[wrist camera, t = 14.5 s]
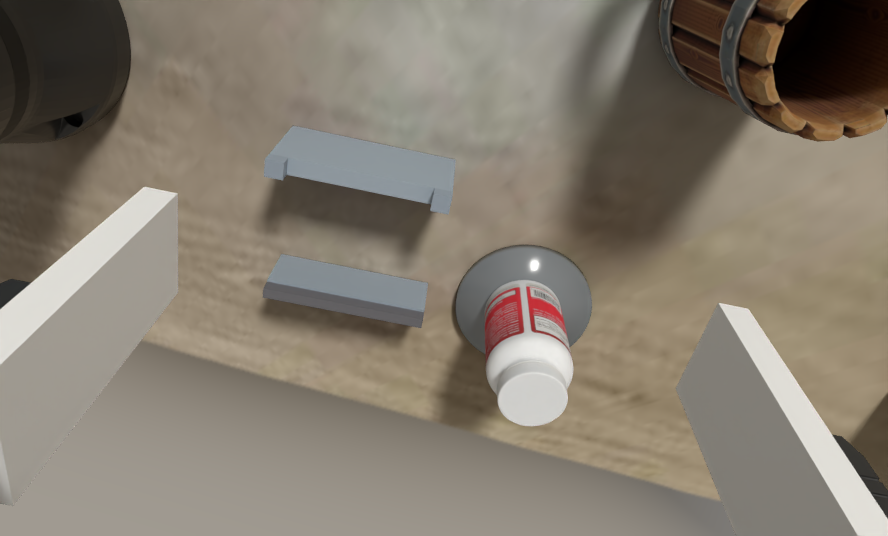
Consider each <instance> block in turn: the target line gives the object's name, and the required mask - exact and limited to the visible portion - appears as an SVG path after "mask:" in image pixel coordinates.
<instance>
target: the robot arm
mask: <svg viewBox="0 0 888 536" xmlns="http://www.w3.org/2000/svg"><path fill="white" fill-rule="evenodd" d="M129 67H130V40H129V34H128V29H127V24H126V20H125V17H124V14H123V11H122V8H121V5H120V3H119V1H118V0H0V143H38V142H49V141H55V140H59V139H63V138H66V137H69V136H71V135H74V134H76V133H78V132H80V131H82V130H84V129H85V128H87V127H89V126H91V125H92V124H94V123H96V122H97V121H99V120H100V119H101V118H103V117H104V116H105V115H106V114H107V113H108V112H109V111H110V110H111V109H112V108H113V107H114V105H115V104H116V103H117V101H118V100H119V98H120V96H121V94H122V92H123V90H124V87H125V84H126V81H127V77H128V73H129ZM177 293H178V193H173V192H168V191H163V190H158V189H153V188H148V187H144V188H142V189H141V190H140V191H139V192H138V193H137V194H135V195H134V196H133V197H132V198H131V199H129V200H128V201H127V202H126V203H125V204H124V205H122V206H121V207H120V208H119V209H118V210H117V211H115V212H114V213H113V214H112V215H111V216H109V217H108V218H107V219H106V220H105V221H104V222H102V223H101V224H100V225H99V226H98V227H97V228H95V229H94V230H93V231H92V232H91V233H89V234H88V235H87V236H86V237H85V238H84V239H82V240H81V241H80V242H79V243H78V244H77V245H75V246H74V247H73V248H72V249H71V250H69V251H68V252H67V253H66V254H65V255H64V256H62V257H61V258H60V259H59V260H58V261H57V262H55V263H54V264H53V265H52V266H51V267H49V268H48V269H47V270H46V271H45V272H44V273H42V274H41V275H40V276H39V277H38V278H36V279H35V280H34V281H33V282H32V283H29V282H24V281H19V280H14V279H10V280H8V281H5V282H3V283H0V504H6V505H12V506H13V505H14V504H15V503H16V502H17V500H18V499H19V498H20V496H21V495H22V494H23V493H24V491H25V490H26V489H27V487H28V486H29V485H30V484H31V482H32V481H33V479H34V478H35V477H36V476H37V474H38V473H39V472H40V471H41V469H42V468H43V467H44V465H45V464H46V463H47V461H48V460H49V459H50V458H51V456H52V455H53V454H54V452H55V451H56V450H57V449H58V447H59V446H60V445H61V443H62V442H63V441H64V439H65V438H66V437H67V435H68V434H69V433H70V431H71V430H72V429H73V428H74V426H75V425H76V424H77V423H78V421H79V420H80V419H81V417H82V416H83V415H84V413H85V412H86V411H87V410H88V408H89V407H90V406H91V404H92V403H93V402H94V401H95V399H96V398H97V397H98V395H99V394H100V393H101V391H102V390H103V389H104V388H105V386H106V385H107V384H108V382H109V381H110V380H111V379H112V377H113V376H114V374H115V373H116V372H117V371H118V369H119V368H120V367H121V366H122V364H123V363H124V362H125V360H126V359H127V358H128V356H129V355H130V354H131V353H132V351H133V350H134V349H135V347H136V346H137V345H138V344H139V342H140V341H141V340H142V338H143V337H144V336H145V335H146V333H147V332H148V331H149V329H150V328H151V327H152V325H153V324H154V323H155V322H156V320H157V319H158V318H159V316H160V315H161V314H162V312H163V311H164V310H165V309H166V307H167V306H168V305H169V303H170V302H171V301H172V300H173V298H174V297H175V296H176V294H177ZM676 390H677V393H678V395H679V398H680V400H681V403H682V405H683V407H684V410H685V412H686V415H687V417H688V420H689V422H690V425H691V427H692V430H693V432H694V435H695V437H696V439H697V442H698V444H699V447H700V449H701V452H702V454H703V457H704V459H705V462H706V464H707V467H708V469H709V471H710V474H711V476H712V479H713V481H714V484H715V486H716V489H717V491H718V494H719V496H720V499H721V501H722V503H723V506H724V508H725V511H726V513H727V516H728V518H729V521H730V523H731V526H732V528H733V531H734V533H735V535H736V536H888V490H887V489H886V488H885V486H884V485H883V483H881V482H879V478H878V476H877V475H876V473H875V472H874V470H873V469H872V467H871V466H870V465H869V463H868V462H867V460H866V459H865V457H864V456H863V455H861V454H860V453H859V452H858V451H857V450H856V449H855V448H854V447H853V446H852V445H851V444H849V443H848V442H847V441H846V440H845V439H844V438H843V437H842V436H836V435H832V434H831V433H830V431H829V430H828V428H827V427H826V425H825V424H824V422H823V421H822V419H821V418H820V416H819V415H818V413H817V412H816V410H815V409H814V407H813V406H812V404H811V403H810V401H809V400H808V398H807V397H806V395H805V394H804V392H803V391H802V389H801V388H800V386H799V385H798V383H797V382H796V380H795V379H794V377H793V376H792V374H791V373H790V371H789V369H788V368H787V366H786V365H785V363H784V362H783V360H782V359H781V357H780V356H779V354H778V353H777V351H776V350H775V348H774V347H773V345H772V344H771V342H770V341H769V339H768V338H767V336H766V335H765V333H764V332H763V330H762V329H761V327H760V326H759V324H758V323H757V321H756V320H755V318H754V317H753V315H752V314H751V312H750V311H749V309H746V308H741V307H737V306H732V305H727V304H722V303H718V304H717V306H716V308H715V310H714V313H713V315H712V317H711V319H710V321H709V323H708V325H707V327H706V329H705V331H704V333H703V335H702V337H701V339H700V341H699V343H698V345H697V347H696V349H695V351H694V353H693V355H692V357H691V359H690V361H689V363H688V365H687V367H686V369H685V371H684V373H683V375H682V377H681V379H680V381H679V383H678V385H677V387H676Z"/></svg>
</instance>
